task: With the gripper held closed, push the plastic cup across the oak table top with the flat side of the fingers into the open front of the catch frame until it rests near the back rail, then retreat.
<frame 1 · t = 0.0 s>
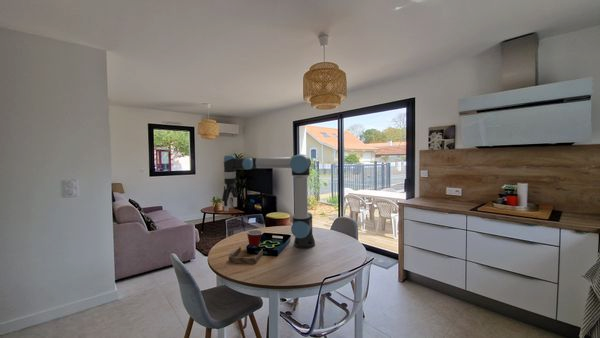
hand: (230, 208, 170), 28 cm above the table, fingers open, 13 cm apart
plastic cup: (254, 248, 170), on the table
catch frame: (247, 256, 156), on the table
slate coaster: (233, 253, 162), on the table
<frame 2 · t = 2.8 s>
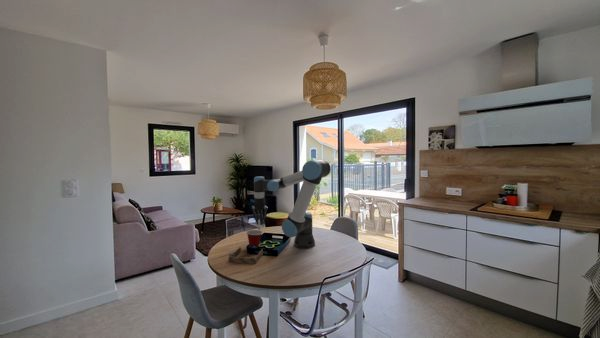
hand: (259, 229, 181), 10 cm above the table, fingers closed
nothing on the table moved.
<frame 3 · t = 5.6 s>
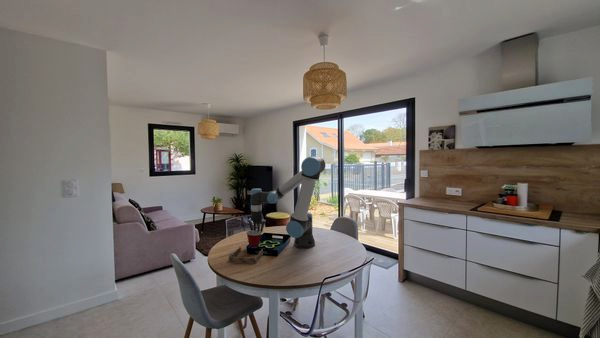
hand: (257, 243, 175), 2 cm above the table, fingers closed
plastic cup: (254, 249, 169), on the table, touching gripper, hand
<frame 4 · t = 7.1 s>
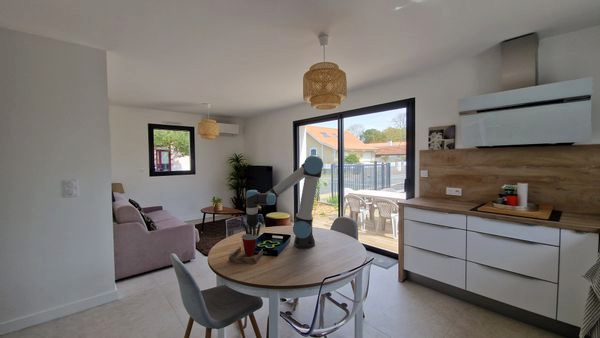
hand: (252, 247, 167), 2 cm above the table, fingers closed
plastic cup: (250, 254, 161), on the table, touching gripper
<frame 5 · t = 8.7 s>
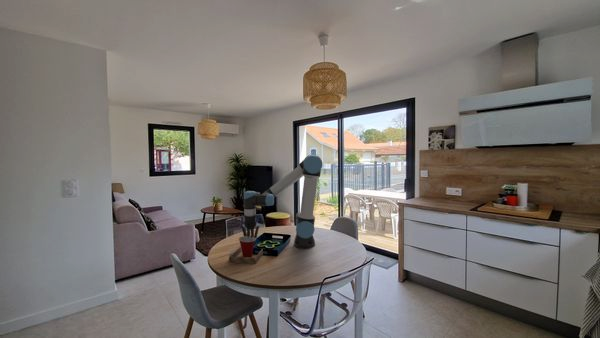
hand: (250, 249, 163), 2 cm above the table, fingers closed
plastic cup: (247, 256, 157), on the table, touching gripper
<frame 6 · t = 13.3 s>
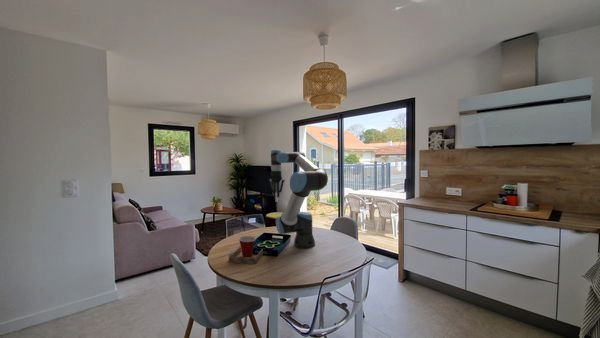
hand: (276, 201, 186), 29 cm above the table, fingers closed
plastic cup: (247, 256, 157), on the table
at the end: plastic cup inside the target area on the catch frame (0.1 cm from its centre), point 0.0 cm above the catch frame's base; plastic cup tilted 0° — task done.
